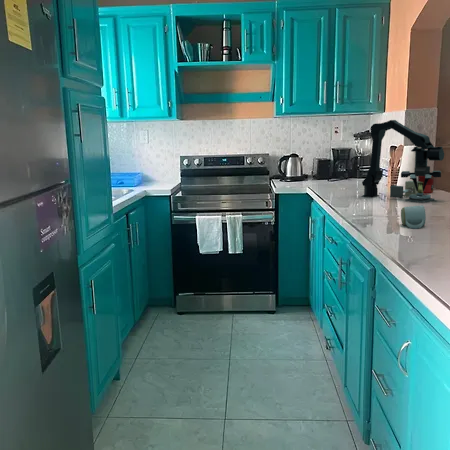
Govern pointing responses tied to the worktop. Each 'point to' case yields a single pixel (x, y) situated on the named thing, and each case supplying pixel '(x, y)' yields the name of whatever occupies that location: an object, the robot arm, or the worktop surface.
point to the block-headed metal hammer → (398, 191)
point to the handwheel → (420, 193)
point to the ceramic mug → (413, 216)
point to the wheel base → (420, 200)
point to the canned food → (429, 184)
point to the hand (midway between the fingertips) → (420, 191)
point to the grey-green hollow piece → (410, 185)
